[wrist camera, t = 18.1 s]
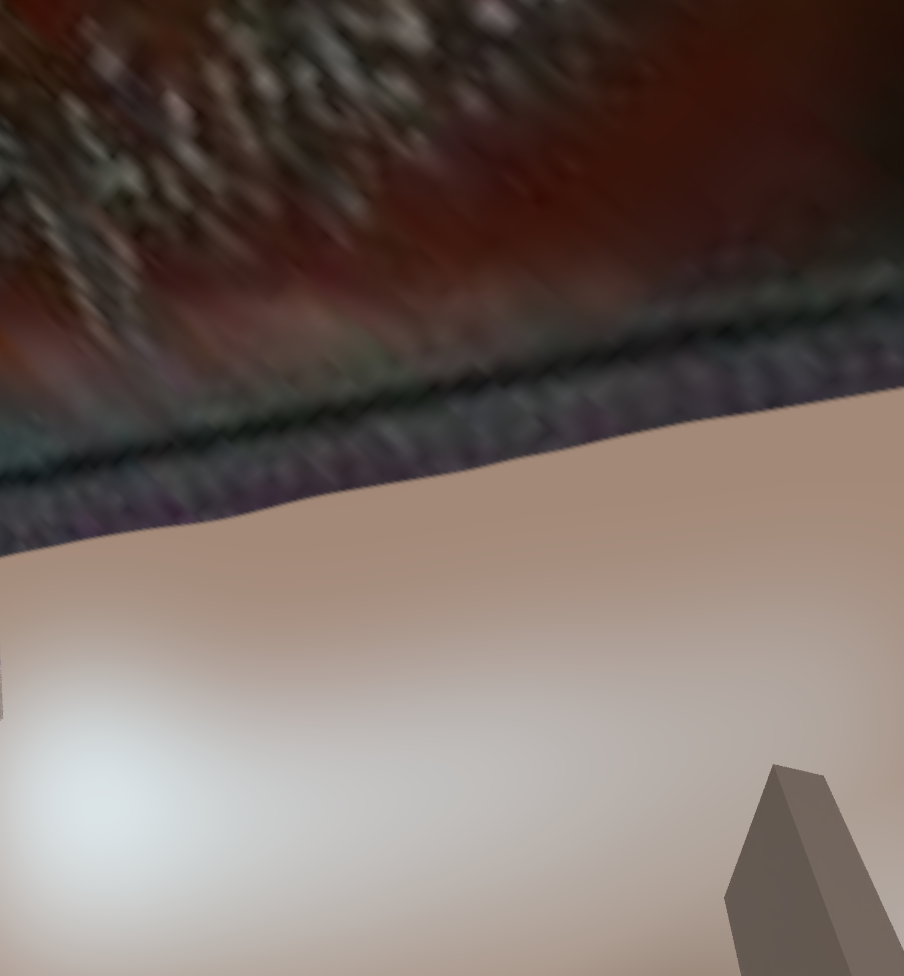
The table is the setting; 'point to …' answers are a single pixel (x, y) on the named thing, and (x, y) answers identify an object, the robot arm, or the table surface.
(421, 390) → the table surface
